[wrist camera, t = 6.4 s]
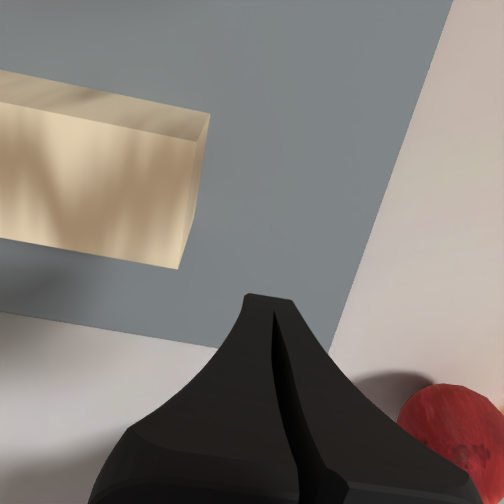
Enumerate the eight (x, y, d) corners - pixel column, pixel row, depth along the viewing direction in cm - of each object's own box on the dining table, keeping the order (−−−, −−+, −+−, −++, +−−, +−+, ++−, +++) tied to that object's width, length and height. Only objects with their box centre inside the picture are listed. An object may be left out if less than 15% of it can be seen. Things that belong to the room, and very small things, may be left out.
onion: (363, 408, 28) (398, 540, 21) (416, 340, 26) (475, 463, 19) (443, 437, 29) (501, 571, 22) (500, 374, 27) (587, 502, 20)
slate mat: (322, 360, 27) (323, 366, 26) (-35, 299, 25) (-40, 304, 25) (462, -40, 18) (467, -42, 17) (-81, -176, 16) (-90, -181, 16)
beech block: (177, 269, 18) (-94, 220, 17) (193, 218, 22) (-21, 177, 21) (196, 141, 15) (-116, 78, 15) (210, 113, 20) (-29, 63, 19)
